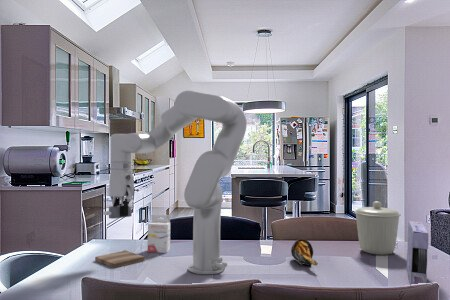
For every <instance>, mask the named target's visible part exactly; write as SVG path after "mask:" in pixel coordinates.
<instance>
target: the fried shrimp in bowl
mask: <svg viewBox="0 0 450 300" xmlns="http://www.w3.org/2000/svg"><path fill="white" fill-rule="evenodd" d="M290 252H291V256H292V257H293V258H294V260H295V261H296V262H297V263H298V264H300V265H301V266H303V265H305V266H311V265H313V266H315V267H316V266H318V264H319V262H317V261H316V260H315V259H313V256H314V249H313V246H312V244H311V242H309V240H308V239H306V238H298V239H297V240H295V241H294V243H293V244H292V246H291V249H290Z"/></svg>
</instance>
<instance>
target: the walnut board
mask: <svg viewBox="0 0 450 300" xmlns="http://www.w3.org/2000/svg"><path fill="white" fill-rule="evenodd" d="M145 257H146V256H144V255H141V254H138V253H135V252H131V251H128V250H122V251H117V252H113V253H108V254H102V255H98V256H97V255H96V256H95V259H94V260H95V262H97V263H100V264H103V265H105V266H107V267H111V268H113V269H115V268H121V267H124V266H128V265H133V264H136V263H137V264H138V263H141V262H145V260H146V259H145Z"/></svg>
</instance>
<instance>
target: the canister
mask: <svg viewBox="0 0 450 300" xmlns="http://www.w3.org/2000/svg"><path fill="white" fill-rule="evenodd" d="M382 206H383V205H382V202H380V201H377V200H376V201H375V200H374V201H373V202H372V206H365V207H359V208H357V209H355V210H354V214H355V217H356V218H355V219H356V220H355V221H356V229H357V236H358V237H357V238H358V244H359V248H360V249H361V250H362V252H365V253H367V254H371V255H375V256H377V255H378V256H380V255H381V256H386V255H387V256H388V255H391V254H393V252H394V251H395V249H396V245H397V236H398V230H399V221H400V216H401V215H402V213H400V212H398V210H397V209H393V208H389V207H382Z"/></svg>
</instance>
